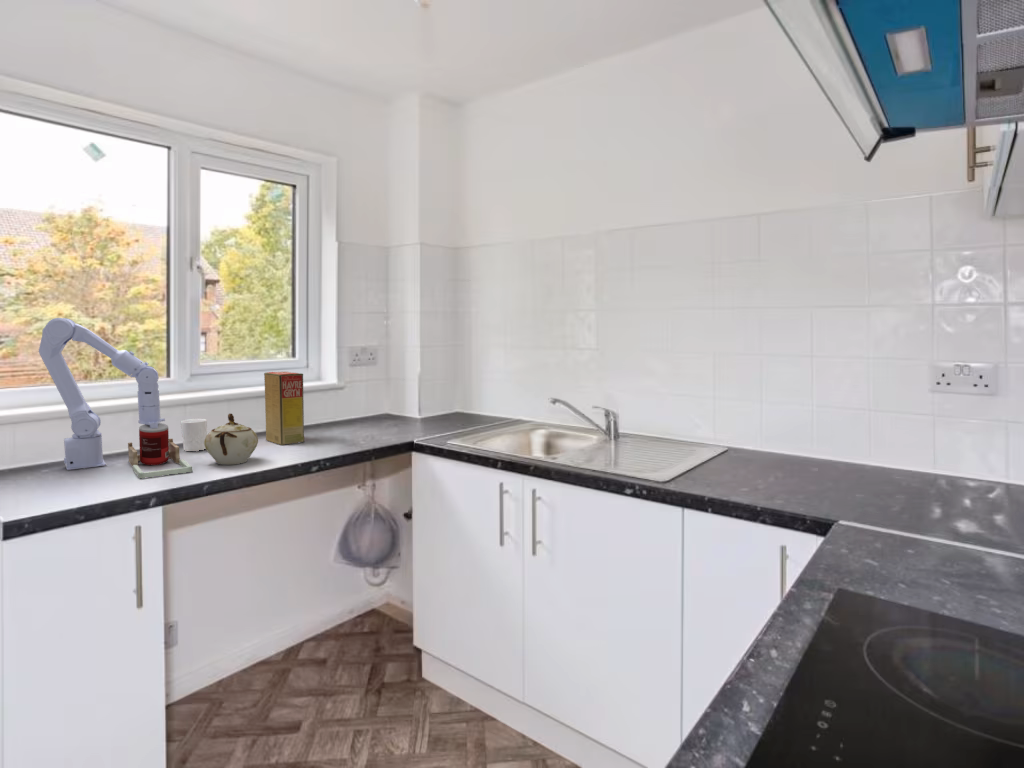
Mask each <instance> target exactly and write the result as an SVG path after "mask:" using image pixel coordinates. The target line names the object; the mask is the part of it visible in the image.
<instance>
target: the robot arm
mask: <svg viewBox="0 0 1024 768" xmlns="http://www.w3.org/2000/svg"><path fill="white" fill-rule="evenodd" d="M41 334H42V335H41V339H40V343H39V347H38V353H39V356H40V358H41V360H42V361H43V364H44V366H45V368H46V369H47V371H48V373H49V375H50V377H51V379H52V381H53V383H54V385H55V386H56V389H57V391H58V393H59V394H60V397H61V399H62V400H63V403H64V405H65V406H66V408H67V411H68V412H67V413H68V416H69V419H70V421H71V425H70V426H71V427H70V428H71V431H72V433H73V434H72V435H71V437H67V438H63V441H64V442H63V447H64V457H63V461H64V462H63V464H65V468H66V470H67V471H70V470H71V471H72V470H77V469H78V470H79V469H87V468H95V467H97V468H98V467H105V466H107V463H106V461H105V460H104V456H103V455H104V453H103V452H104V451H103V437H102V436H103V435H102V432H101V431H99V427H100V426H101V418H100V416H99V415H98V414H97V413H95V412H94V411H93V410H92V409H91V407H90V405H89V404H88V402H87V401H86V399H85V398H84V395H83V393H82V391H81V389H80V387H79V386H78V383H77V382H76V380H75V377H74V375H73V373H72V372H71V370H70V367H69V366H68V363H67V361H66V360H65V358H64V356H63V354H62V352H63V350H64V349H65V347H66V346H67V343H68V342H69V341H74V342H80V343H81V342H82V343H85V344H87V345H89V346H90V347H91V348H94V349H95V350H97V351H99V352H100V353H102V354H103V355H104V356H107V358H109V359H110V360H111V366H113V367H115V368H116V369H118V370H119V371H121V372H122V373H124V374H125V375H127V376H129V377H130V378H134V379H135V381H136V383H137V386H138V387H137V388H138V389H137V390H138V391H137V405H138V406H137V407H138V424H140V425H145V424H146V425H150V429H152V428H158V424H159V423H162V422H165V421H166V418H161V404H160V403H161V402H160V390H159V383H158V381H159V372H158V371H157V370H156V369H155V368H154V367H153V366H152V365H151V366H150V365H149V363H148V362H147V361H145V362H144V361H143V360H141V359H140V358H138V357H137V356H135V352H133V351H132V350H130V351H128V350H127V349H123V350H121V349H120V350H119V349H117V348H115V347H114V346H113V345H111V344H110V343H108V341H106V340H104V339H103V338H102V337H100V336H99V335H98V334H96V333H94V332H93V331H92V330H90V329H88V328H87V327H86V326H83V325H81V324H79V323H76V322H75V321H74V320H72V319H70V318H67V317H63V318H62V317H55V318H52V319H50V320H49V321H48V322H47V323H46V325H45V326H44V328H43V329H42V333H41Z"/></svg>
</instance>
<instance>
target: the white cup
mask: <svg viewBox="0 0 1024 768" xmlns="http://www.w3.org/2000/svg"><path fill="white" fill-rule="evenodd" d="M180 431H181V437H182V440H181V441H182V445H183V451H184V450H185V451H184V452H186V451H196V452H200V451H199V450H203V451H205V450H204V449H206V448H205V445H204V440H205V438H206V436H207V435H208V419H205V418H191V419H184V420H183V419H182V420H181V421H180Z"/></svg>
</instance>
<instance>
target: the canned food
mask: <svg viewBox="0 0 1024 768" xmlns="http://www.w3.org/2000/svg"><path fill="white" fill-rule="evenodd" d="M138 428H139V429H138V437H139V438H138V439H139V443H138V444H139V455H140V463H141V464H142V465H145V466H159V464H160V465H163V464H165V463H168V461H169V459H170V458H169V439H170V438H169V436H170V435H169V434H170V433H169V425H168V424H165V423H162V422H160V423H159V424H158V428H152V429H150V425H146V424H141V425H140V426H139V427H138Z"/></svg>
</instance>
